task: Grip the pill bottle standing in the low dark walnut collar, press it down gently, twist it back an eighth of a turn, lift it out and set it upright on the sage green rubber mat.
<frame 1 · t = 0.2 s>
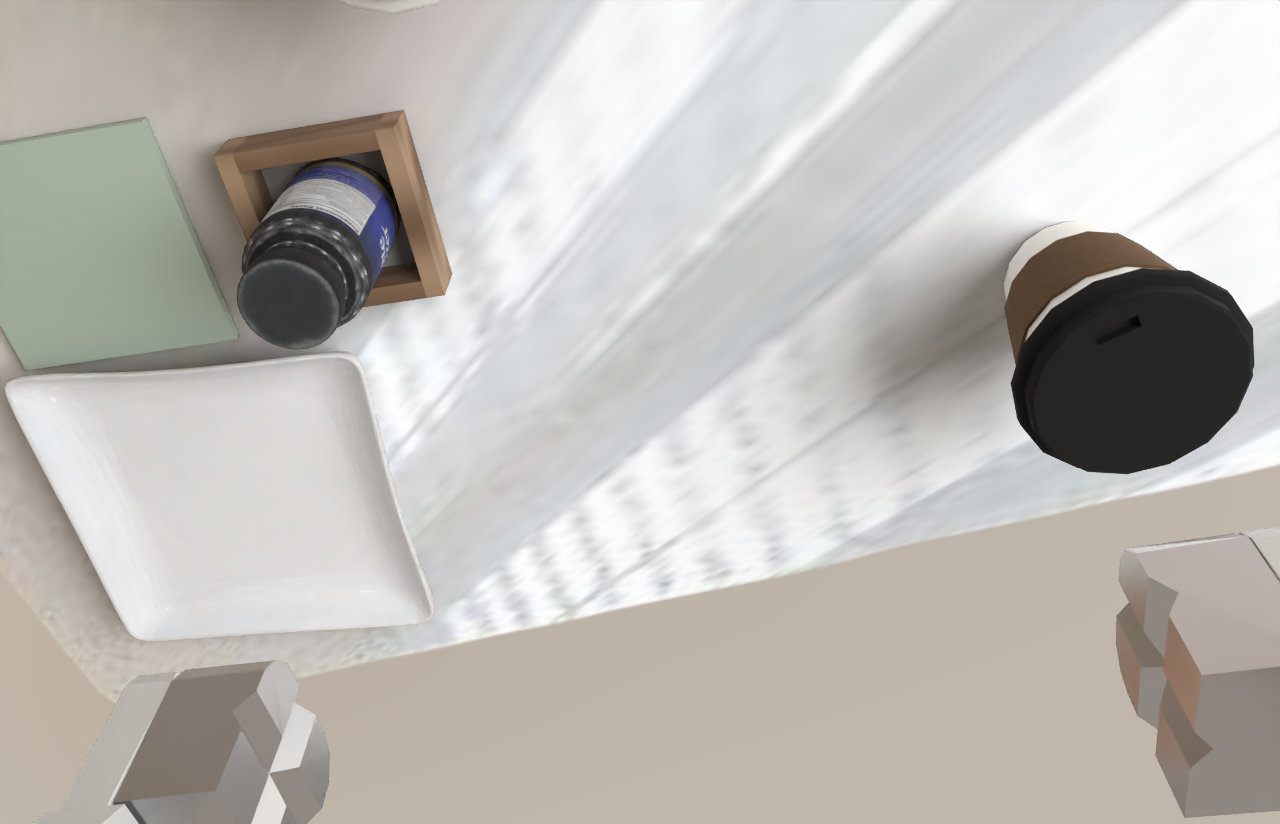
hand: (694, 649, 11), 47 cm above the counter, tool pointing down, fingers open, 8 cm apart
pill bottle: (345, 207, 60), resting in walnut collar
walnut collar: (344, 208, 59), on the counter
coffee cup: (1061, 270, 61), on the counter
sage mat: (84, 249, 61), on the counter
salad plate: (250, 478, 71), on the counter
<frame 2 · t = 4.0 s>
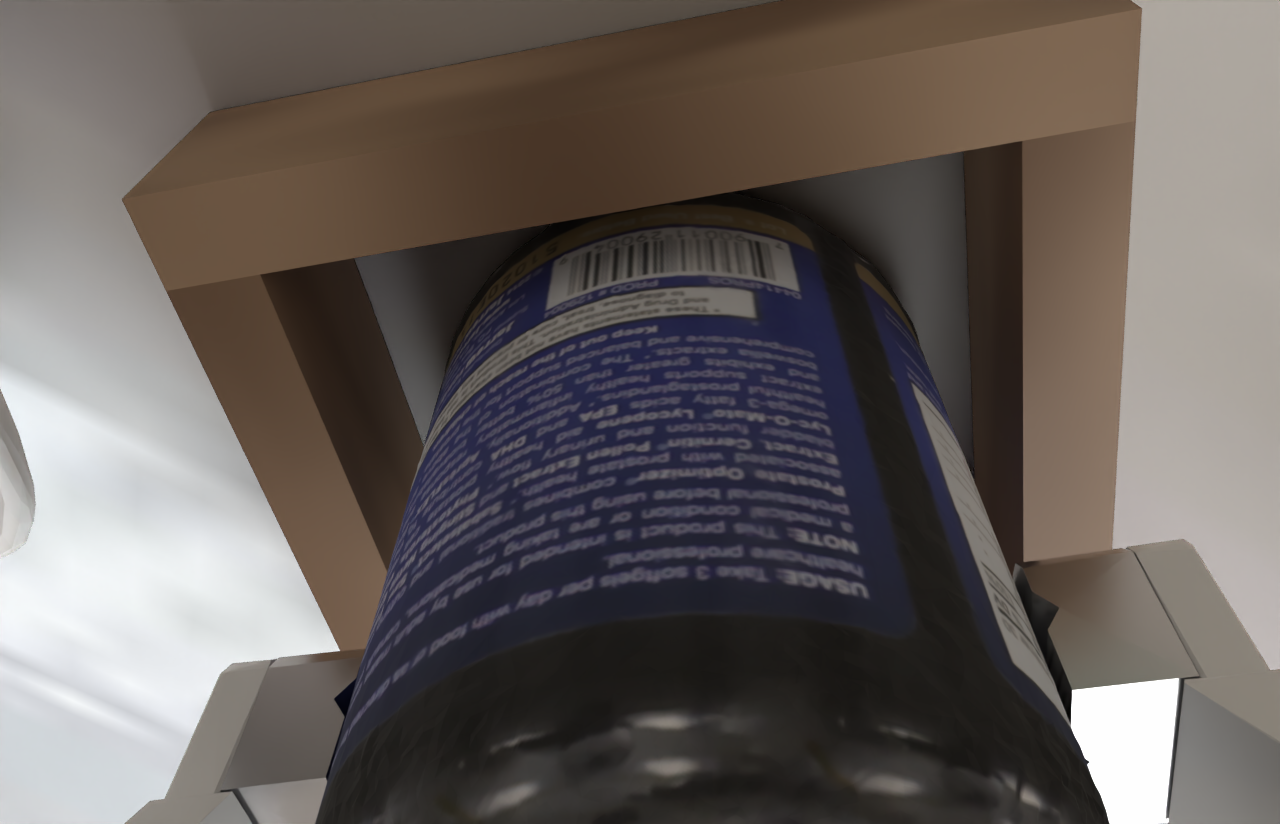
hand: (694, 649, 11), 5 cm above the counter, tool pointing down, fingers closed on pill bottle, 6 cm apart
pill bottle: (685, 381, 15), resting in walnut collar, touching gripper
walnut collar: (685, 389, 15), on the counter
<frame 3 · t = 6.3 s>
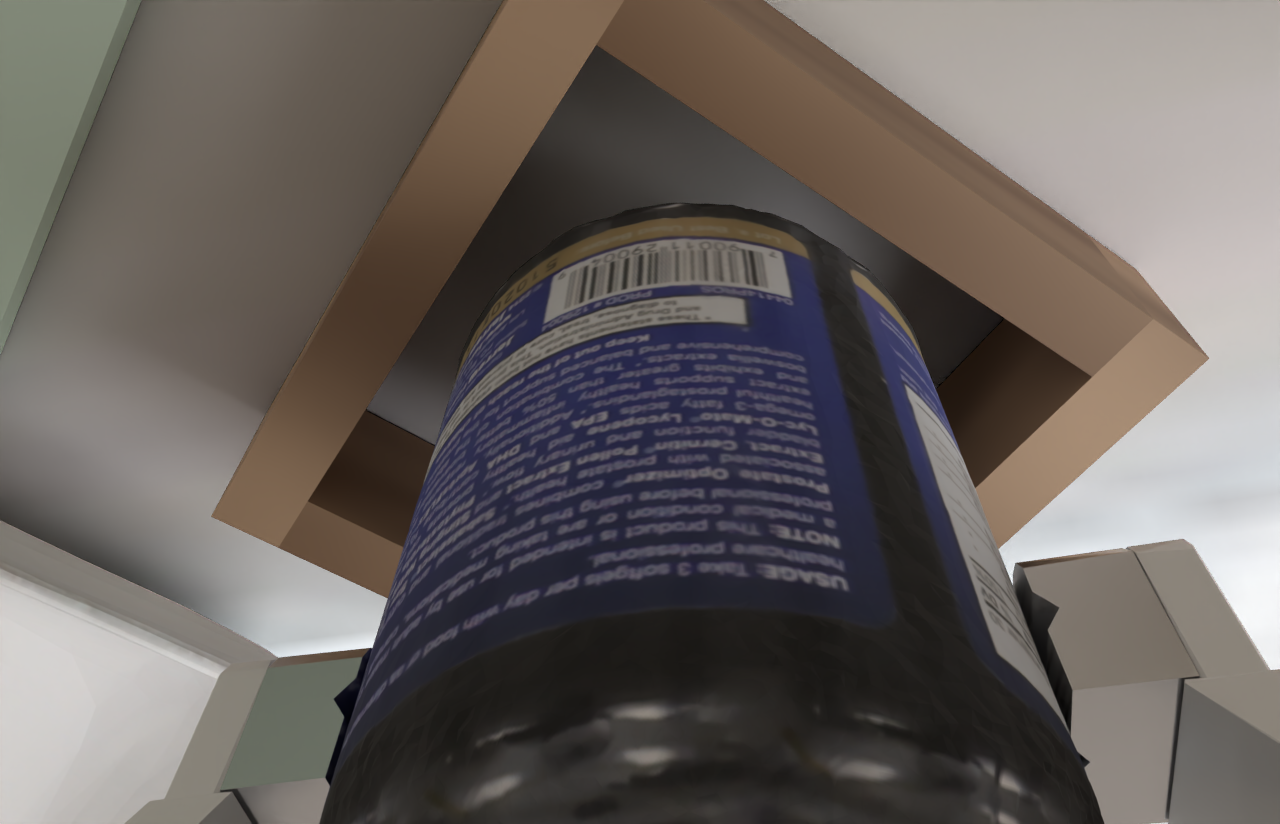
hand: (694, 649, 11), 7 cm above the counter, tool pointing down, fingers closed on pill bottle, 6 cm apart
pill bottle: (692, 392, 15), point 2 cm above the counter, touching gripper
walnut collar: (679, 346, 17), on the counter
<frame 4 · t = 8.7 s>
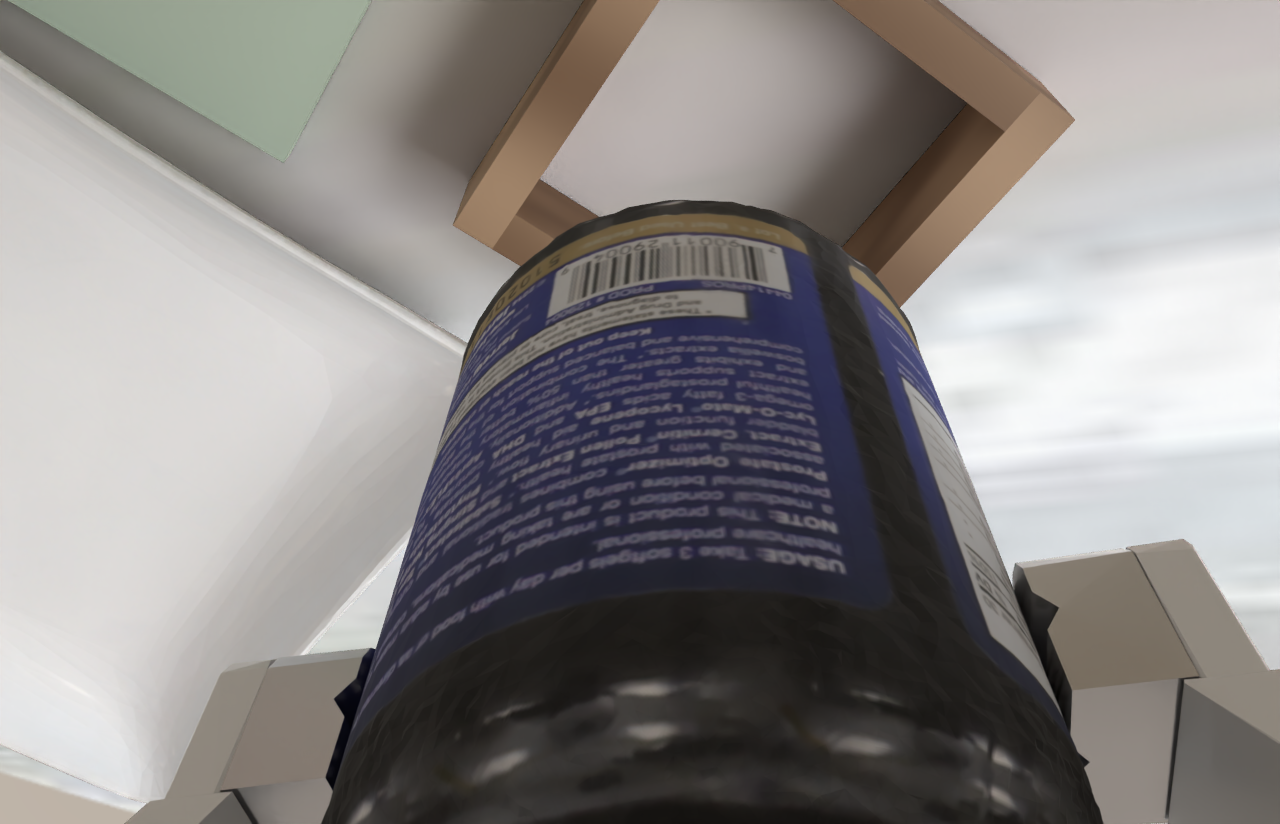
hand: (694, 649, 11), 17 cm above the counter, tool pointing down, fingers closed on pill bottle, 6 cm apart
pill bottle: (692, 388, 15), point 12 cm above the counter, touching gripper
walnut collar: (746, 133, 26), on the counter
salad plate: (19, 377, 30), on the counter
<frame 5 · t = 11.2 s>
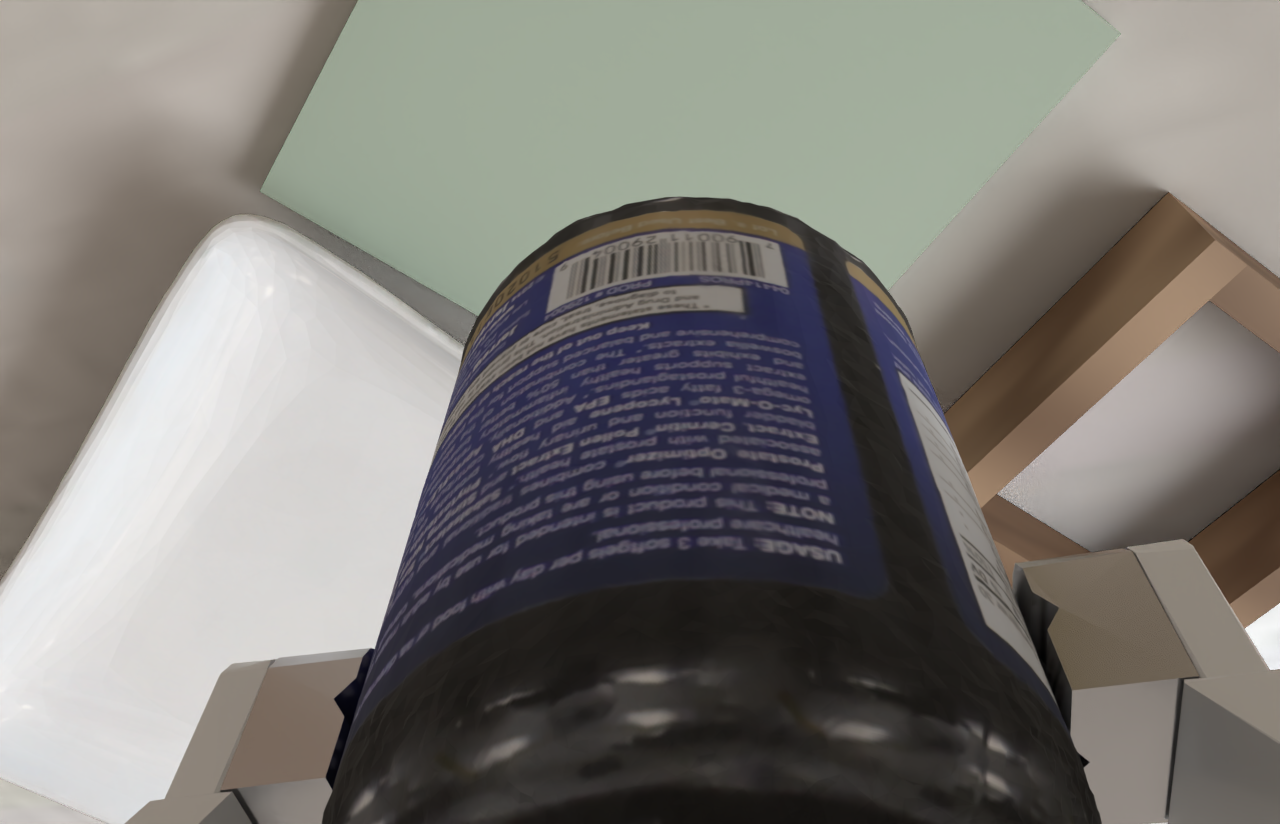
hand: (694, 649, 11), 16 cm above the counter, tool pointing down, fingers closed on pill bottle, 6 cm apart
pill bottle: (690, 384, 15), point 11 cm above the counter, touching gripper
walnut collar: (1150, 431, 28), on the counter
sage mat: (670, 106, 24), on the counter
salad plate: (426, 616, 33), on the counter
when the fingers open (6 cm above the counter, at t = 13.6 s): pill bottle stays where it is, resting on sage mat.
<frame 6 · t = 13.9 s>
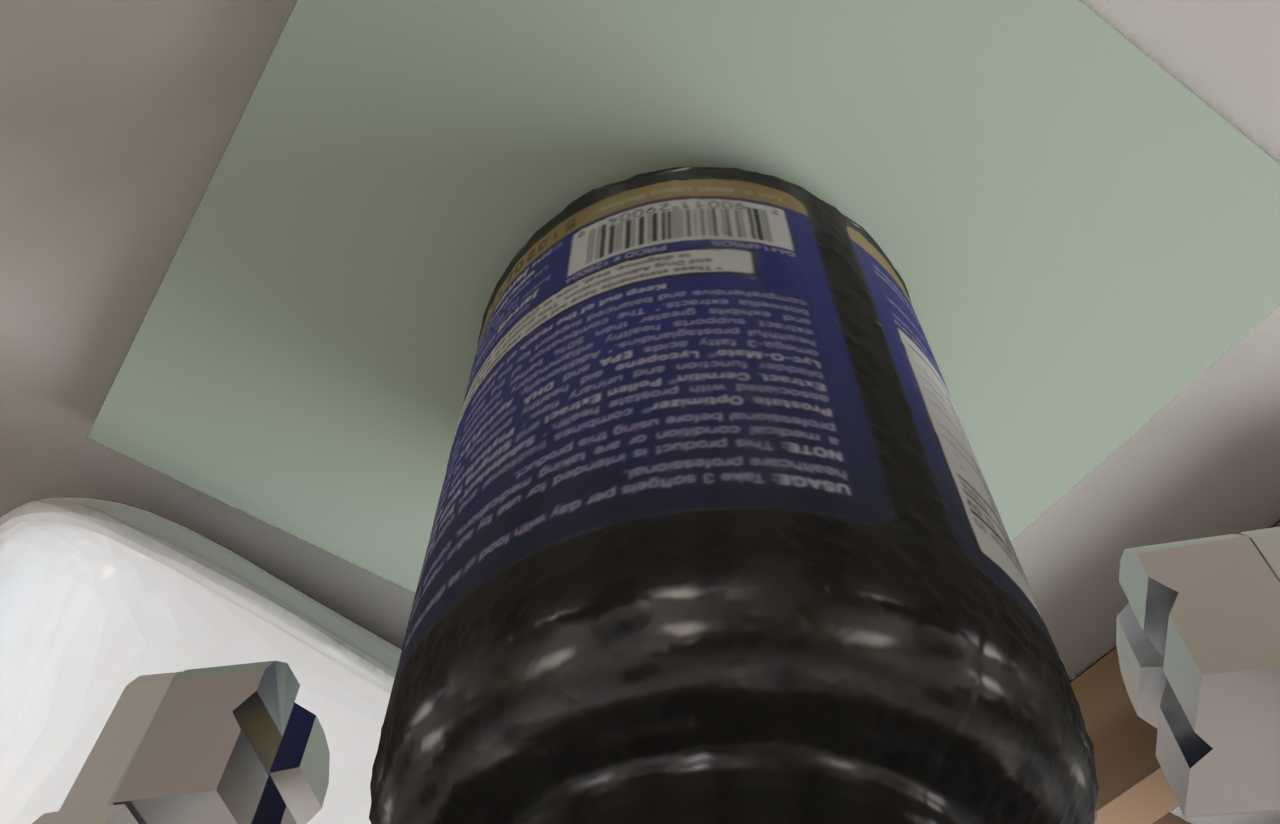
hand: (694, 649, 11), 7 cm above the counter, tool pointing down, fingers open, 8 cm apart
pill bottle: (698, 346, 16), resting on sage mat
sage mat: (680, 321, 16), on the counter
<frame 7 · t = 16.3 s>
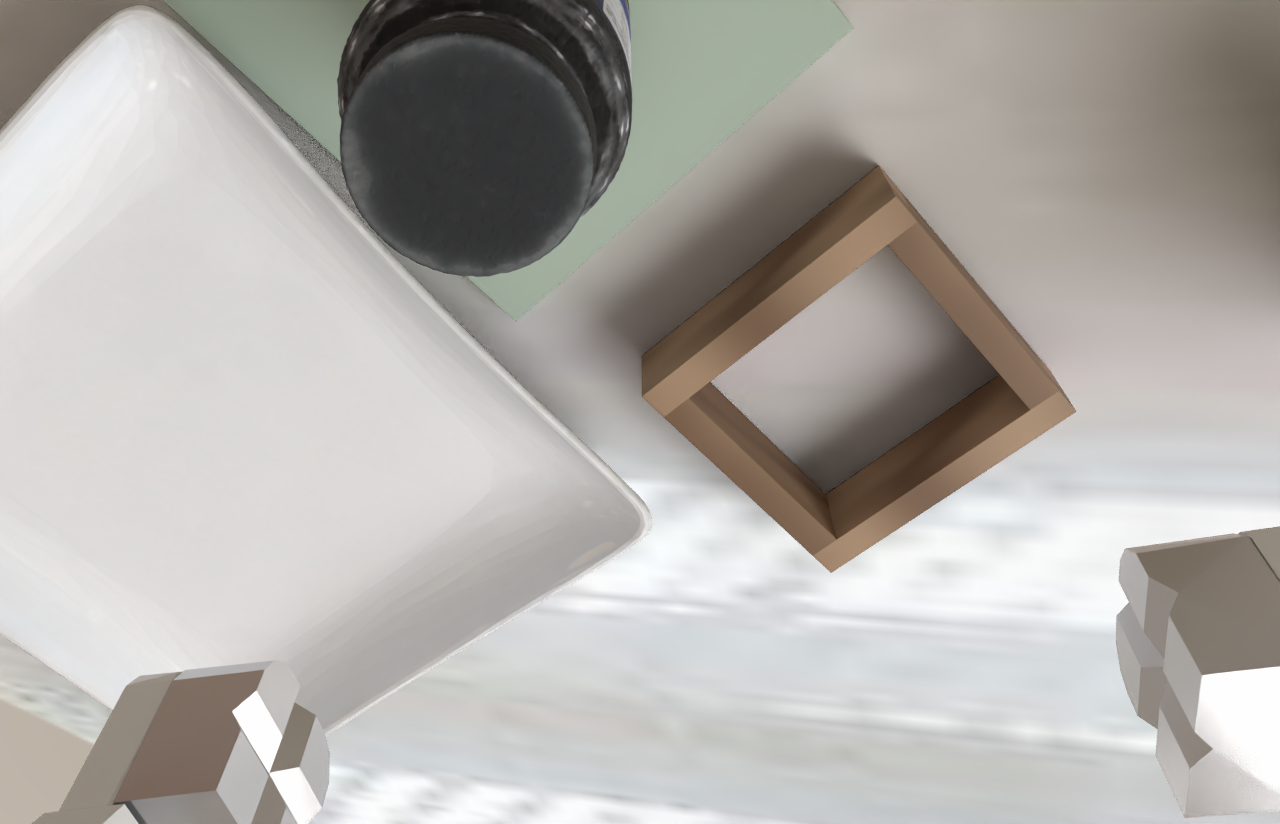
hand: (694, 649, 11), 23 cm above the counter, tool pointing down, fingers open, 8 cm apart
pill bottle: (519, 21, 30), resting on sage mat
walnut collar: (846, 363, 36), on the counter
sage mat: (512, 8, 30), on the counter
salad plate: (229, 425, 38), on the counter
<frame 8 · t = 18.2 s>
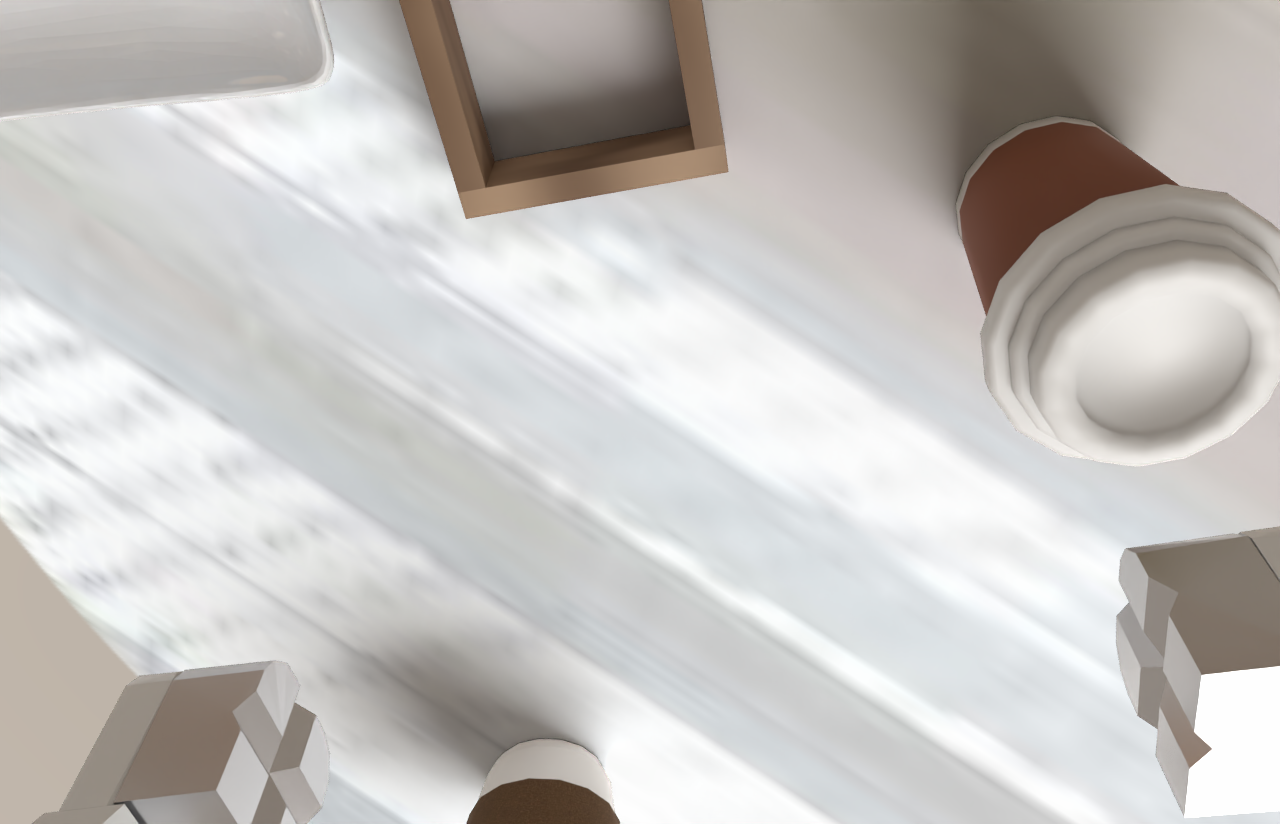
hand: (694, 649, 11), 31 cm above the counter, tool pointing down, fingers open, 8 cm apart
coffee cup 2: (1041, 198, 41), on the counter
walnut collar: (569, 41, 38), on the counter
coffee cup: (550, 772, 60), on the counter
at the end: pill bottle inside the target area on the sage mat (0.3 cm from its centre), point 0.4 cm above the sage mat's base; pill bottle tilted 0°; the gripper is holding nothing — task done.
